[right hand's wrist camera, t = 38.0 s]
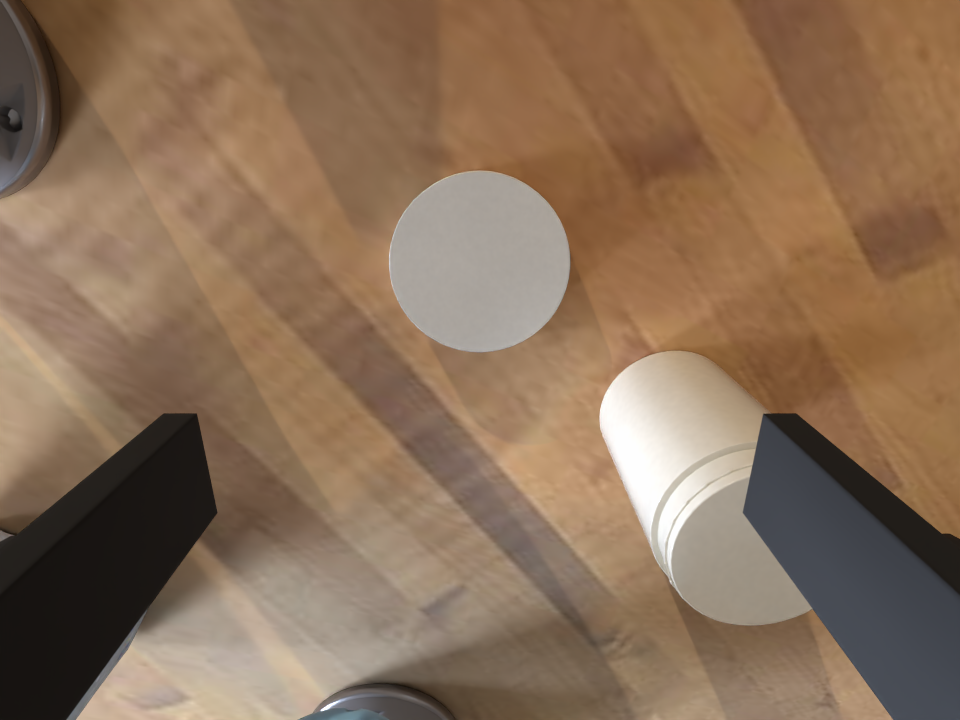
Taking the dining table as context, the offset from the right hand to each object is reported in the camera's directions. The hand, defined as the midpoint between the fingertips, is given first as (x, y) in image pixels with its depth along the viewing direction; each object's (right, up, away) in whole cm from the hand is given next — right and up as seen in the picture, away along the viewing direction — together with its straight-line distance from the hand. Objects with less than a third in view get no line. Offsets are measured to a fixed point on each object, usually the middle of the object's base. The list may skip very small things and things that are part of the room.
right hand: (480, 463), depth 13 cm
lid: (0, +9, +23) cm, 24 cm away
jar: (+14, -2, +29) cm, 32 cm away
